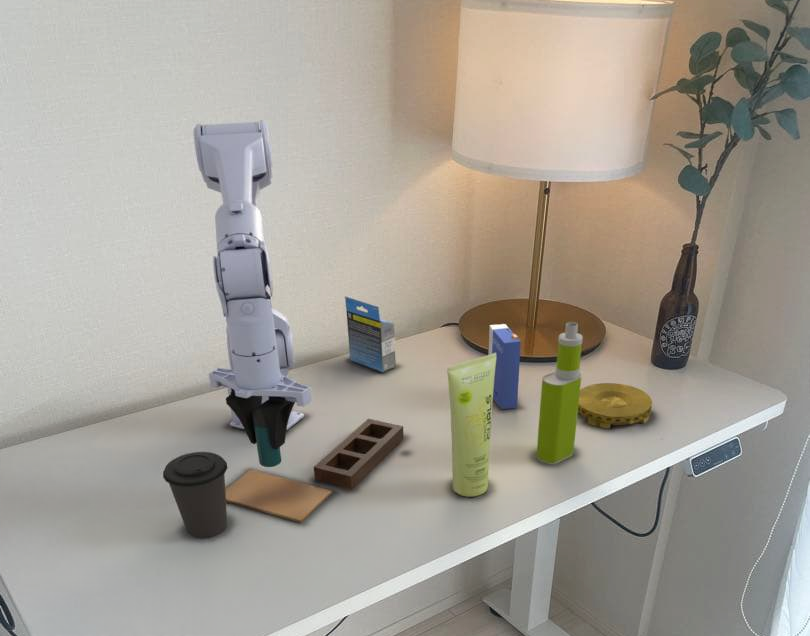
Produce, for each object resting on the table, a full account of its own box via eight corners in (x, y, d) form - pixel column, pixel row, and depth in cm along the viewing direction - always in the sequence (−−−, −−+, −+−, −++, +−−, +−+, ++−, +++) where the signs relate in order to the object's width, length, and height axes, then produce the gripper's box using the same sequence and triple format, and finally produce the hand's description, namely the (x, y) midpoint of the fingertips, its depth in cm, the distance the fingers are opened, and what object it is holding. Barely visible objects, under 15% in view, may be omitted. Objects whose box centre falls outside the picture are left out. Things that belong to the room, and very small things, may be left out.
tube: (482, 502, 110) (487, 370, 99) (446, 497, 111) (447, 366, 100) (491, 481, 114) (496, 352, 103) (456, 476, 116) (458, 348, 104)
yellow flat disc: (663, 423, 127) (665, 410, 126) (593, 433, 125) (594, 421, 124) (628, 391, 137) (630, 379, 135) (563, 400, 134) (564, 388, 133)
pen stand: (314, 480, 116) (313, 467, 115) (369, 430, 128) (368, 418, 126) (351, 489, 114) (350, 476, 112) (403, 438, 125) (403, 426, 124)
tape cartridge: (397, 366, 147) (394, 301, 140) (382, 373, 145) (379, 307, 138) (363, 354, 152) (359, 290, 145) (348, 360, 150) (343, 296, 143)
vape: (578, 452, 120) (592, 324, 109) (550, 466, 117) (562, 335, 106) (559, 443, 123) (571, 316, 111) (532, 456, 120) (541, 327, 108)
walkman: (517, 407, 133) (521, 338, 126) (501, 410, 132) (504, 340, 125) (502, 387, 139) (505, 321, 132) (486, 389, 139) (489, 322, 132)
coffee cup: (208, 551, 103) (194, 485, 97) (163, 533, 106) (146, 468, 100) (250, 519, 108) (239, 455, 102) (206, 503, 112) (193, 440, 106)
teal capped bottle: (255, 464, 109) (247, 415, 105) (267, 454, 111) (260, 405, 107) (273, 469, 108) (266, 419, 104) (285, 458, 110) (279, 409, 106)
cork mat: (217, 498, 113) (216, 496, 112) (250, 471, 118) (250, 469, 118) (301, 522, 107) (300, 520, 107) (332, 493, 113) (331, 490, 113)
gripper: (187, 350, 100) (205, 445, 108) (284, 369, 94) (296, 468, 102) (222, 330, 105) (237, 422, 113) (316, 347, 100) (325, 443, 107)
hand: (267, 442), depth 108 cm, fingers closed on teal capped bottle, 3 cm apart
